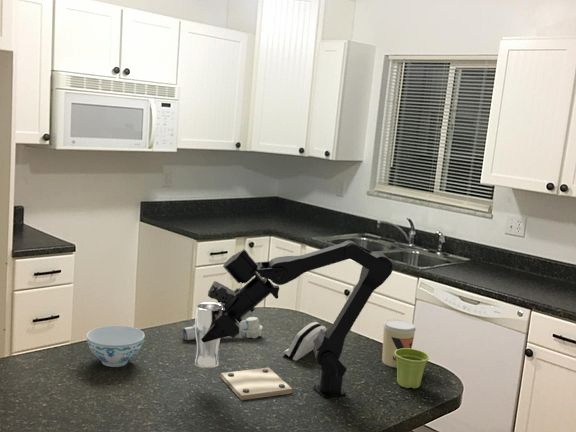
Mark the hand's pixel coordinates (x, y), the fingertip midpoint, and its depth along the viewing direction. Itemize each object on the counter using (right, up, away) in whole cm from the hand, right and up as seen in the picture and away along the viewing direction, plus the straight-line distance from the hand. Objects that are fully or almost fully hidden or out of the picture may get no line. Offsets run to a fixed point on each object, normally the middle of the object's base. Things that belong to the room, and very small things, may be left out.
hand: (203, 336), depth 160 cm
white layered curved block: (+26, -11, +32) cm, 43 cm away
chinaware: (-25, -9, +12) cm, 30 cm away
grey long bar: (+1, -8, +38) cm, 39 cm away
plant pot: (+54, -16, +15) cm, 59 cm away
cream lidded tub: (+53, -14, +30) cm, 63 cm away
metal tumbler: (+1, -7, +1) cm, 7 cm away
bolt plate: (+13, -14, +6) cm, 20 cm away
